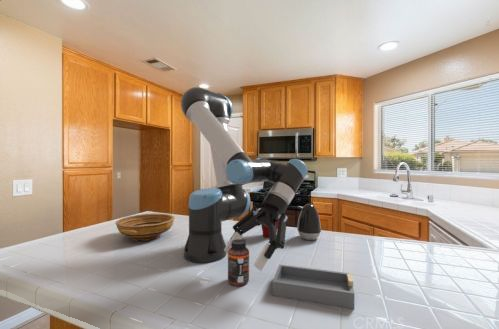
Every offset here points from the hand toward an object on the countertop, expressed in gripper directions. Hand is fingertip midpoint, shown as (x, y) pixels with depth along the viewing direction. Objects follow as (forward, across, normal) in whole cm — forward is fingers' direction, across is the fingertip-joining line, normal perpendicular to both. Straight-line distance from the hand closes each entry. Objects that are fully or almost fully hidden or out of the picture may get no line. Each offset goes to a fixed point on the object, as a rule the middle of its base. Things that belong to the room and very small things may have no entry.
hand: (240, 260), depth 66 cm
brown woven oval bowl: (+10, +60, +1) cm, 60 cm away
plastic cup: (-20, +25, -30) cm, 44 cm away
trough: (-4, -15, -13) cm, 20 cm away
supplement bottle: (+5, +1, -5) cm, 7 cm away
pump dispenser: (-28, +12, -38) cm, 49 cm away
